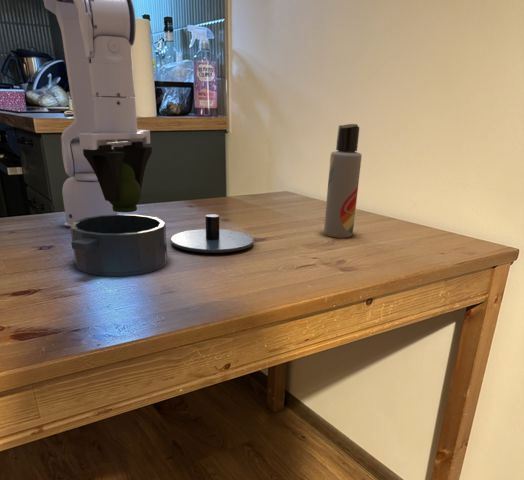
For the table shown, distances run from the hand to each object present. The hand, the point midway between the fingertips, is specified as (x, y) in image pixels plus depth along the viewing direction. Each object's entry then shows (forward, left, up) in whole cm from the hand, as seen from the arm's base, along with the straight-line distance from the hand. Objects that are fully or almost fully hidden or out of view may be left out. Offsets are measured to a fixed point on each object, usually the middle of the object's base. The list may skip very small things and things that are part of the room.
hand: (123, 198), depth 75 cm
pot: (0, -2, -9) cm, 10 cm away
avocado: (0, 0, -2) cm, 2 cm away
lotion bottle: (+27, +32, -10) cm, 43 cm away
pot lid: (+8, +14, -9) cm, 18 cm away
